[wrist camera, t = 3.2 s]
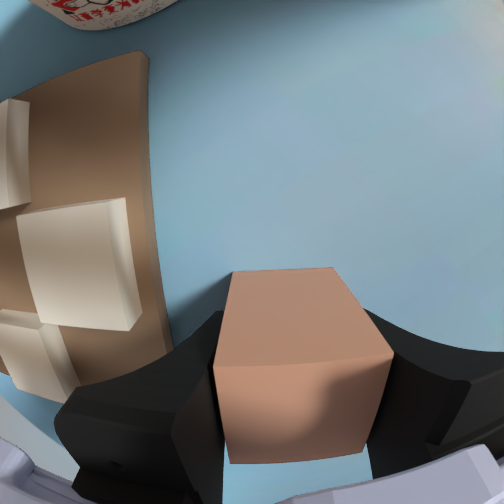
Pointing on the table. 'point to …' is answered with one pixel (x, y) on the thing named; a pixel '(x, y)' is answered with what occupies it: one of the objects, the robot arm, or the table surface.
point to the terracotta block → (297, 367)
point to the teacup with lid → (101, 11)
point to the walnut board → (92, 167)
